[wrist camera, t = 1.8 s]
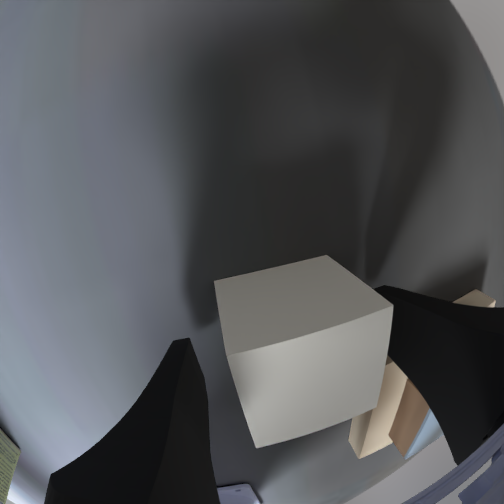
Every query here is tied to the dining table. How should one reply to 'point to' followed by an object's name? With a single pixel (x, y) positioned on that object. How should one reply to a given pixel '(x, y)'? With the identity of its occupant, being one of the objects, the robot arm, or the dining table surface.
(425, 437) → the base
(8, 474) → the box
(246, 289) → the cream cube
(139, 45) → the dining table surface
